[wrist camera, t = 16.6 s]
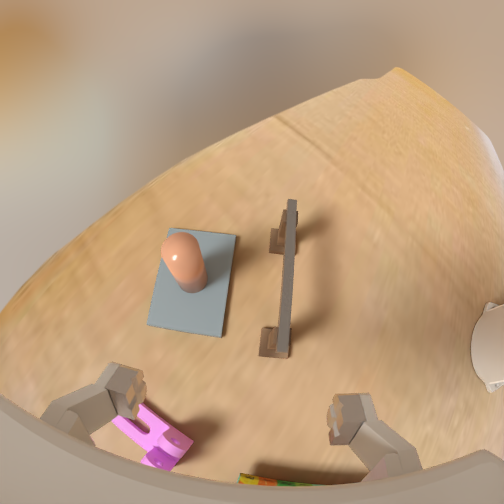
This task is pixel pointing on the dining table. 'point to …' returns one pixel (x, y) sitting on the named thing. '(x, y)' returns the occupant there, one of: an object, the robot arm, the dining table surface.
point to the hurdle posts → (270, 335)
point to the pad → (201, 303)
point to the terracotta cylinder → (185, 261)
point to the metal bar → (287, 279)
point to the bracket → (156, 439)
